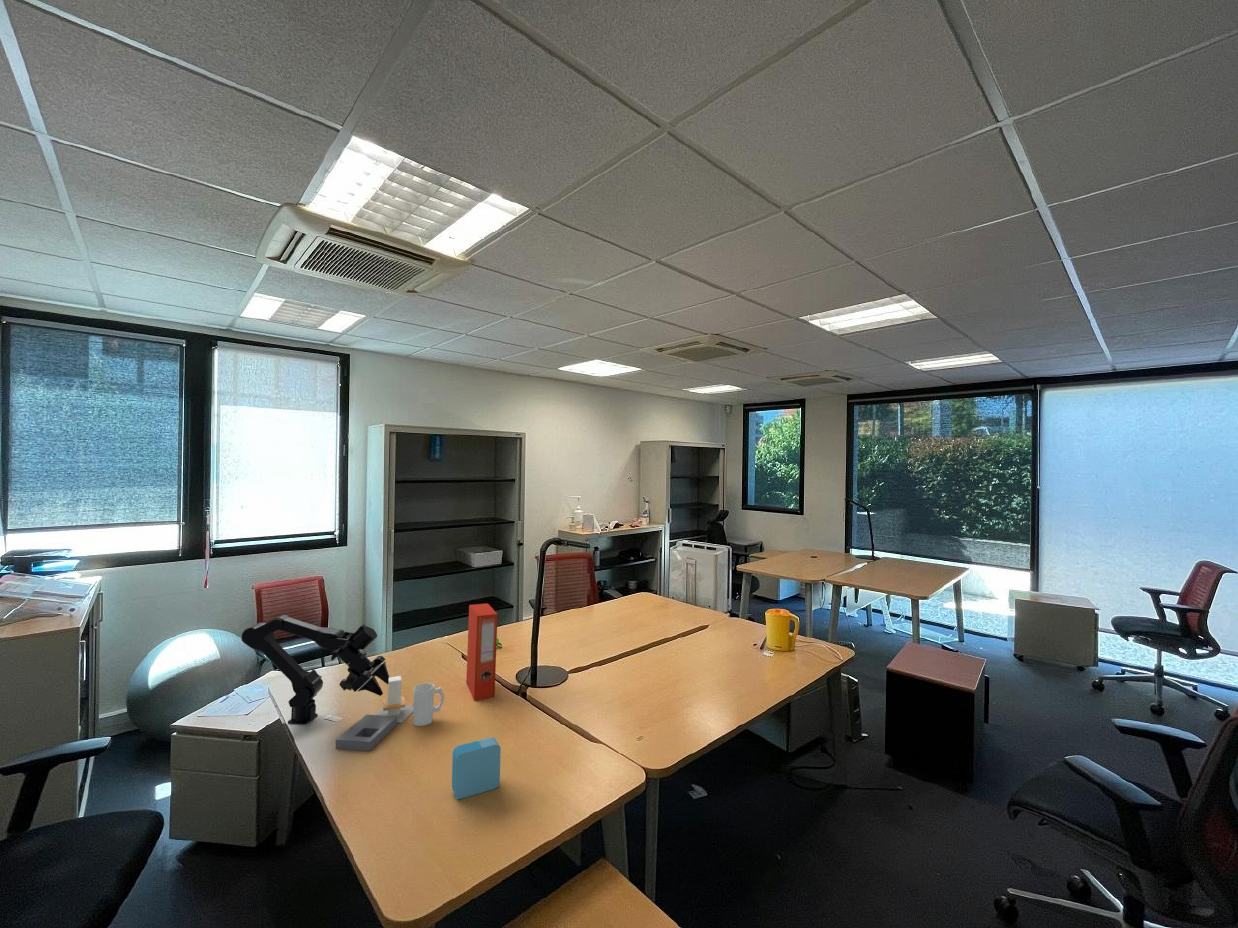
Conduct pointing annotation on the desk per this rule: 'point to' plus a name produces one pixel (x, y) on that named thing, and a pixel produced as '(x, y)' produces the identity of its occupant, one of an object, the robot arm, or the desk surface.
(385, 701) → the white and tan block
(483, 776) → the data package
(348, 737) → the gray slab with hole
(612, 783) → the desk surface
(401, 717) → the mat
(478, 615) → the file binder
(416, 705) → the mug
